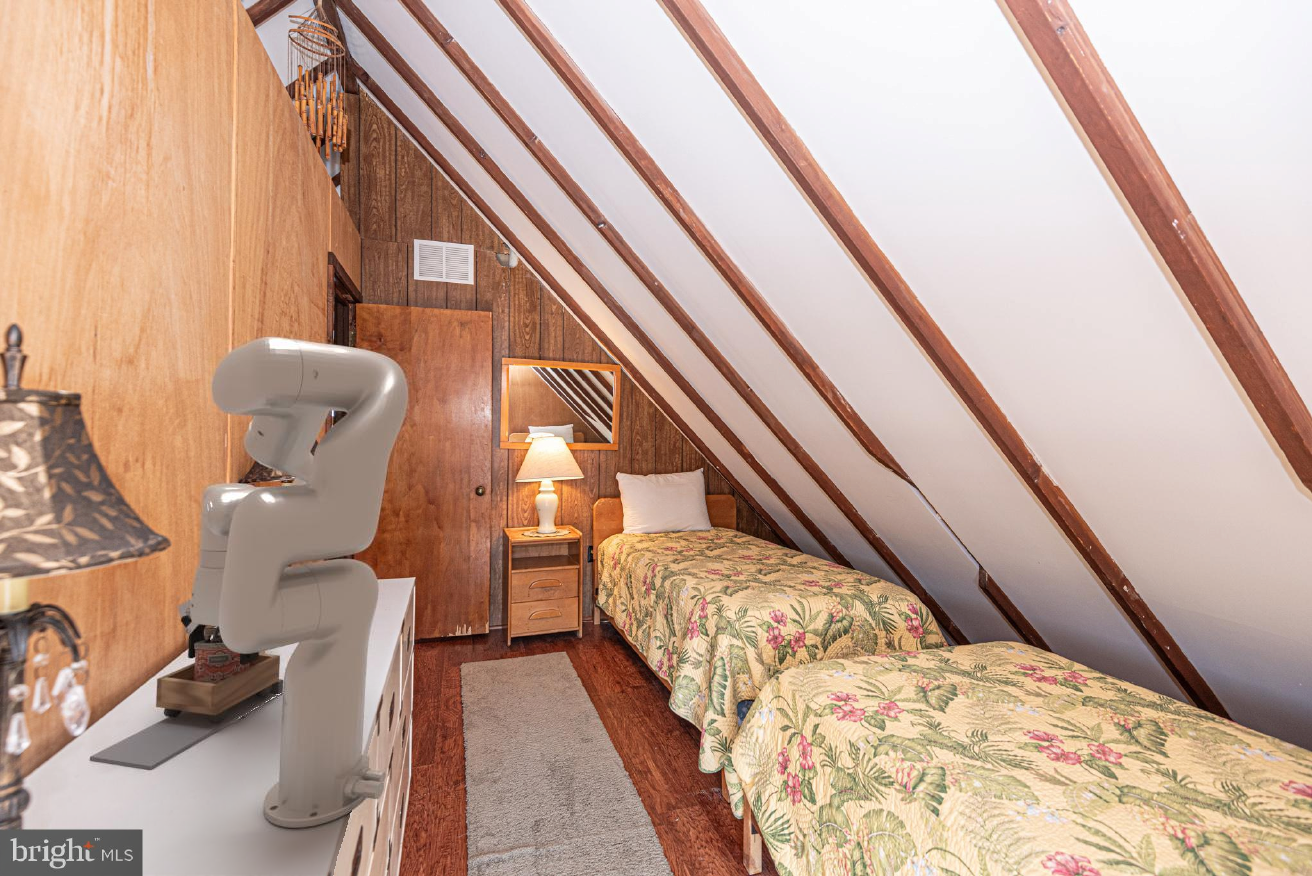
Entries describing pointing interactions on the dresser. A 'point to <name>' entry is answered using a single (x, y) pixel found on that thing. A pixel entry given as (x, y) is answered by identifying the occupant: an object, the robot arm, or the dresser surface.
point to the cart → (215, 689)
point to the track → (175, 735)
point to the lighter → (215, 659)
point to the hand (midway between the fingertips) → (223, 658)
